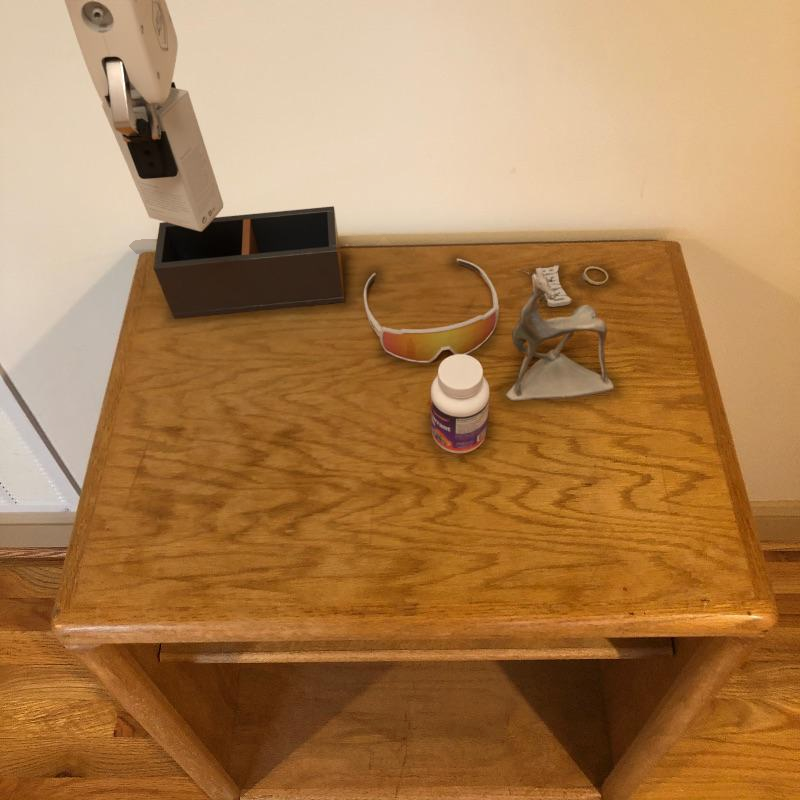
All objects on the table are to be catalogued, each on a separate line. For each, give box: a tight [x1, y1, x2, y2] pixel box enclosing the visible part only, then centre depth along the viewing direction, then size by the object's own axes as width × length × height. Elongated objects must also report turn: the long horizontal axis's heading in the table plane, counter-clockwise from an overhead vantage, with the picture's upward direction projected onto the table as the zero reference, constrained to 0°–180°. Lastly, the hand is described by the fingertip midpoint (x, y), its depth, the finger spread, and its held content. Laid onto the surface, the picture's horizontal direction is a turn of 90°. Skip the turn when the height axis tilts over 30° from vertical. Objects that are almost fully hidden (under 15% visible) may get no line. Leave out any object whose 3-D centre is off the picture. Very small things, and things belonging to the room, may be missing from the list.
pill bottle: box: [430, 354, 490, 454], centre depth 73 cm, size 5×5×10 cm
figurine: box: [505, 272, 615, 401], centre depth 75 cm, size 11×6×15 cm, turn 91°
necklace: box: [515, 264, 572, 308], centre depth 87 cm, size 7×1×5 cm
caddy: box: [152, 205, 345, 319], centre depth 87 cm, size 19×7×8 cm, turn 95°
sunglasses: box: [363, 258, 500, 364], centre depth 85 cm, size 14×15×5 cm
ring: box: [581, 265, 609, 286], centre depth 88 cm, size 3×1×3 cm
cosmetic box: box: [101, 87, 224, 232], centre depth 68 cm, size 6×4×12 cm
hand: (163, 148), depth 67 cm, fingers closed on cosmetic box, 6 cm apart
